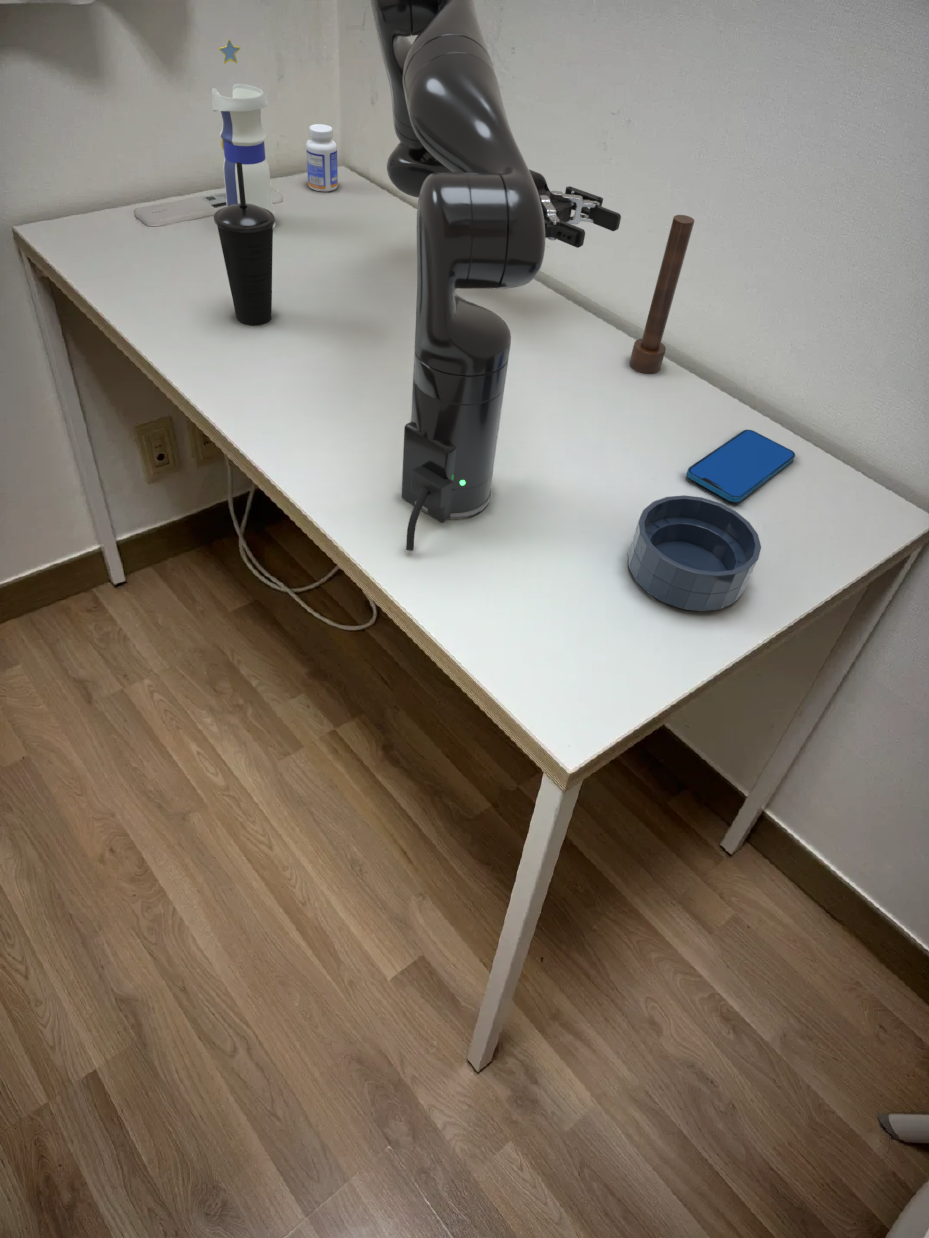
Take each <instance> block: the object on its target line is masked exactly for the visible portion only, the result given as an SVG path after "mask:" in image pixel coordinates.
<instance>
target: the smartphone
mask: <svg viewBox="0 0 929 1238" xmlns="http://www.w3.org/2000/svg"><path fill="white" fill-rule="evenodd" d="M795 457H796V453H795V451H793V450H791V449H790V448H788V447H786V446H784V445H782V444H780V443H778V442H777V441H774V440H772V439H771V438H769V437H767V436H764V435H762V434H760V433H758V432H757V431H755V430H753V429H744V430H742V431H741V432H739V433H737V434H736V435H735V436H733V437H732V438H730V439H729V440H728V441H726V442H724V443H723V444H722V445H720V446H719V447H717V448H716V449H714V450H713V451H711V452H710V453H708V454H707V455H705V456H704V457H702V458H701V459H700V460H698V461H696V462H695V463H693V464H692V465H690V466H689V467H688V469H687V471H686V477H687V478H688V479H690V480H691V481H694V483H697V484H698V485H700V486H701V487H704V488H706V489H707V490H708V491H711V492H713V493H715V494H716V495H717V496H720V497H721V498H723V499H725V500H727V501H729V502H730V503H731V502H732V503H740V502H742V501H743V500H745V498H746V497H748V496H750V494H752V493H753V492H755V490H757V489H758V488H760V487H761V486H762V485H764V483H766V482H767V481H768V480H770V479H771V478H773V477H774V476H775V475H776V474H778V473H779V472H780V471H781V470H783V469H784V468H786V467H787V466H788V465H789V464H790V463H792V462H793V461H794V460H795Z"/></svg>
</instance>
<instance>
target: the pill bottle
mask: <svg viewBox="0 0 929 1238" xmlns="http://www.w3.org/2000/svg"><path fill="white" fill-rule="evenodd" d="M308 130H309V131H308V135H309V137H310V138H309V139H308V140H306V143H305V150H306V153H305V154H306V172H307V185H308V188H309V189H311V190H312V191H315V192H333V191H335V190H336V189H338V185H339V175H338V174H339V172H338V171H339V168H338V145H337V143H336V141H334V140H333V136H334V135H333V134H334V131H333V127H332V126H330V125H328V124H324V123H323V124H322V123H316V124H314V123H313V124H311V125H310V126H309V129H308Z"/></svg>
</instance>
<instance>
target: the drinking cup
mask: <svg viewBox="0 0 929 1238" xmlns="http://www.w3.org/2000/svg"><path fill="white" fill-rule="evenodd" d="M236 165H237V175H238V185H239V195H240V203H239V204H233V205H230V206H227V205H226V206H225V207H221V208H220V209H217V210H216V211H215V212H214V214H213V222H214V224H215V226H216V227H217V231H218V232H217V233H218V236H219V241H220V246H221V252H222V255H223V260H224V261H223V262H224V265H225V269H226V274H227V279H228V280H227V281H228V285H229V289H230V294H231V299H232V304H233V308H234V313H235V317H236V319H237V321H238V322H239V323H242V324H243V325H249V326H259V325H264V324H267V323H268V322H270V321H271V319H272V316H273V315H272V313H273V312H272V307H273V305H272V304H273V303H272V301H273V251H274V250H273V248H274V247H273V245H274V243H273V241H274V239H273V238H274V228H273V225H274V223H275V224H276V216H275V214H274V215H273V213H272V212H270V211H269V210H267V209H265V208H262V207H259V206H256V205H253V204H246V200H245V190H244V179H243V169H242V163H241V162H237V163H236Z"/></svg>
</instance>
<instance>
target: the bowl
mask: <svg viewBox="0 0 929 1238" xmlns="http://www.w3.org/2000/svg"><path fill="white" fill-rule="evenodd" d="M761 550H762V544H761V541H760V537H759V533H758V532H757V530H755V528H754V526H753V525H752V524H751V522H749V521H748V519H746V518H745V517H744V516H743V515H741V514H740V512H737V511H736V510H734V509H732V508H731V507H729V506H727V505H725V504H723V503H721V502H718V501H715V500H712V499H708V498H705V497H701V496H694V495H686V494H685V495H682V494H681V495H673V496H672V495H671V496H665V497H663V498H659V499H657V500H654V501H652V502H651V503H650V504H649V505H647V506H646V507H645V508H644V509H643V510H642V512H641V514H640V516H639V519H638V522H637V525H636V528H635V532H634V534H633V538H632V541H631V544H630V548H629V551H628V554H627V560H628V569H629V571H630V573H631V574H632V577H633V578H634V581H636V583H637V584H638V585H639V586H640V587H641V588H642V589H643V590H644V591H645V592H646V593H647V594H649V595H650V596H652V597H653V598H656V599H657V600H658V601H660V602H662V603H664V604H666V605H669V606H673V607H675V608H679V609H682V610H687V611H695V612H708V611H717V610H718V611H719V610H722V609H723V608H726V607H728V606H730V605H733V604H734V603H735V602H736V601H738V599H739V598H740V597H741V596H742V595H743V593H744V592H745V589H746V587H747V584H748V583H749V580H750V578H751V576H752V574H753V572H754V570H755V567H756V565H757V563H758V561H759V559H760V554H761Z"/></svg>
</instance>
